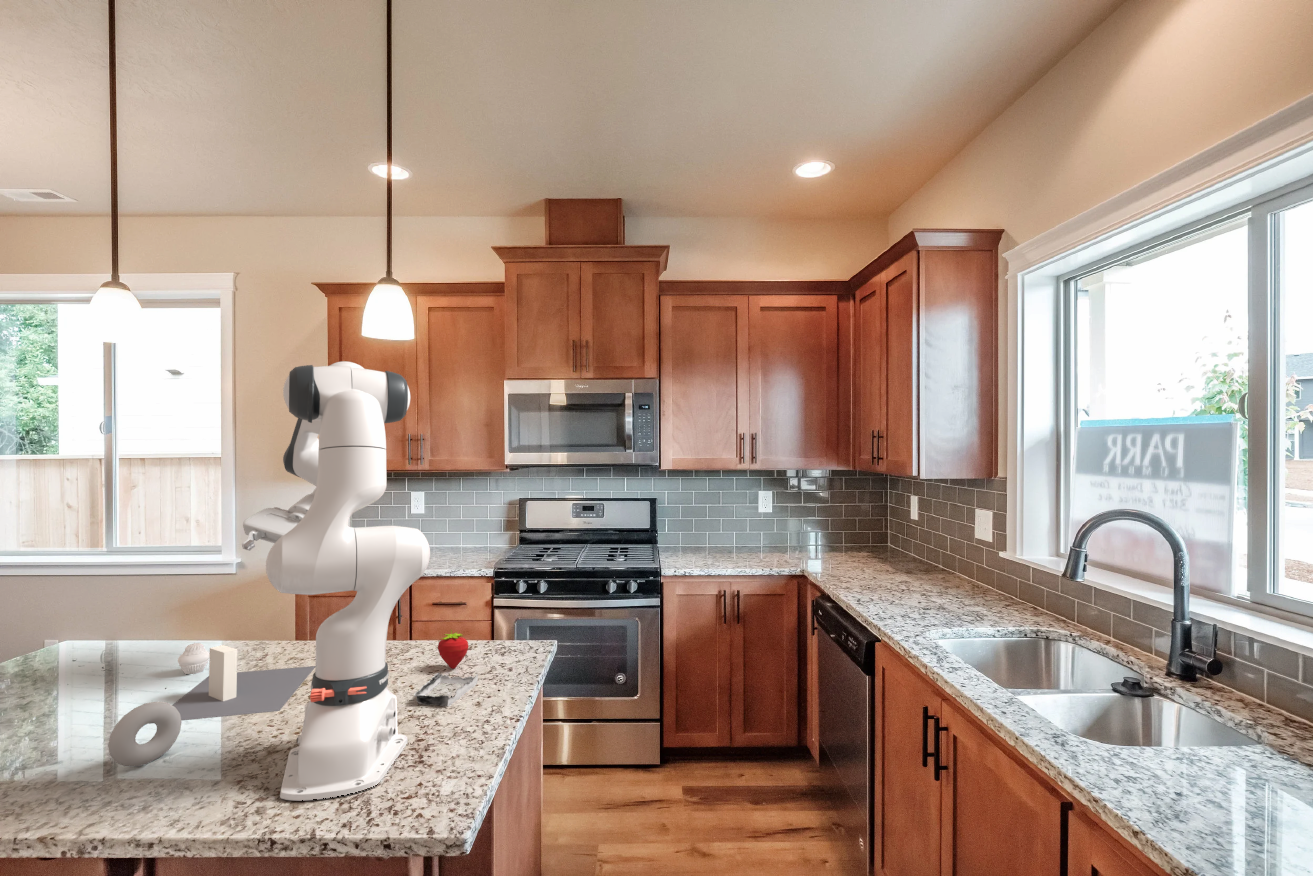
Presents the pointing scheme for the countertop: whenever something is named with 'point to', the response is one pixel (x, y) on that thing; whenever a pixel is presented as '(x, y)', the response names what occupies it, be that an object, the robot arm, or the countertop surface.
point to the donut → (127, 728)
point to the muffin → (194, 659)
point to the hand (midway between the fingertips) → (263, 553)
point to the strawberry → (453, 649)
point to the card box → (223, 672)
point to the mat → (244, 694)
